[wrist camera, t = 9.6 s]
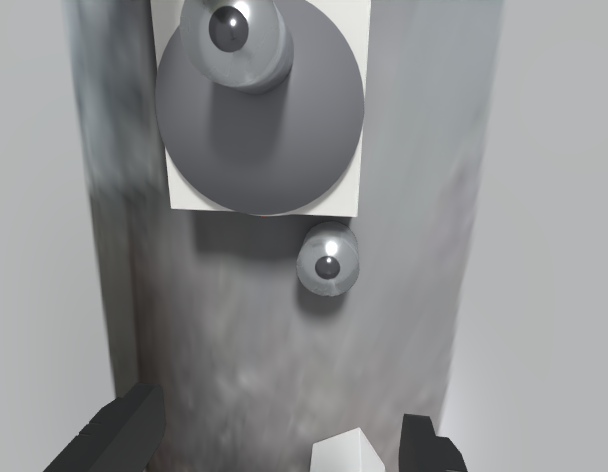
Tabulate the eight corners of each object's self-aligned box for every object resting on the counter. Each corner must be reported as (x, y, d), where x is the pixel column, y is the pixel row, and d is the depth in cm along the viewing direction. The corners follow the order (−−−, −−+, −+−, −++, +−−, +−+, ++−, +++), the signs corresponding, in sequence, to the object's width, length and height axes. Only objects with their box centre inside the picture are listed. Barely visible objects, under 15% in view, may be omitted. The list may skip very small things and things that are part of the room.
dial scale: (190, 22, 28) (142, -11, 21) (366, 19, 26) (372, -17, 20) (202, 200, 32) (166, 218, 26) (354, 206, 31) (356, 227, 24)
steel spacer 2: (304, 219, 32) (296, 236, 27) (359, 222, 31) (361, 239, 26) (303, 270, 33) (295, 294, 28) (356, 273, 33) (357, 298, 28)
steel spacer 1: (213, 6, 21) (174, -30, 16) (294, 4, 21) (278, -34, 16) (218, 94, 23) (183, 84, 18) (293, 94, 22) (279, 85, 17)
